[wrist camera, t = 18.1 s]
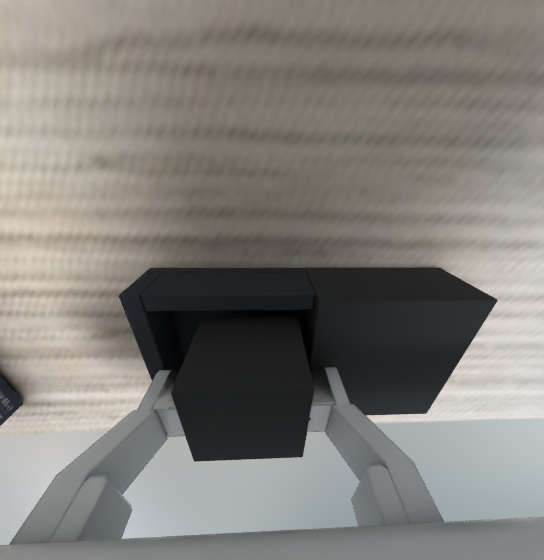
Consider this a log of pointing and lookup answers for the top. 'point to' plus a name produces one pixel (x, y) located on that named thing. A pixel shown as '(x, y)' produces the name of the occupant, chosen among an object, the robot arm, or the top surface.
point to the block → (245, 389)
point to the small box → (7, 401)
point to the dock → (324, 322)
